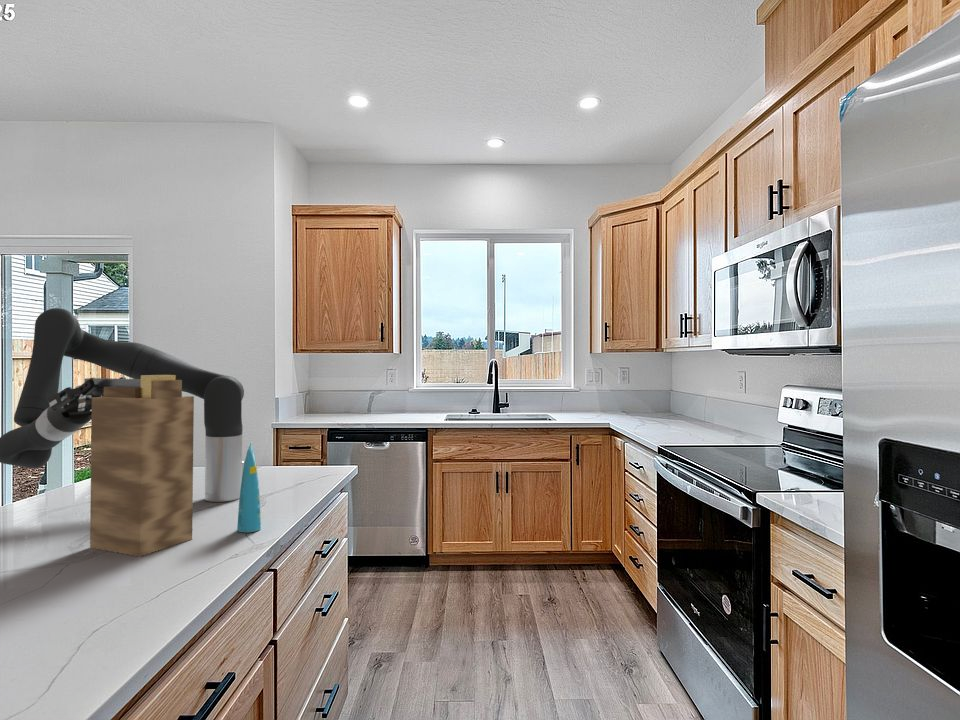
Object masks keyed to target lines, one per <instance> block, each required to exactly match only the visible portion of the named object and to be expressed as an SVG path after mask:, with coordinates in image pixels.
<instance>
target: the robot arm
mask: <svg viewBox="0 0 960 720" xmlns="http://www.w3.org/2000/svg"><path fill="white" fill-rule="evenodd" d="M34 323H35V324H34V331H33V332H34V333H33V346H32V352H31V356H30V361H29V367H28V368H27V369H28V370H27V374H26V378H25V380H24V383H23V387H22V390H21V393H20V397H19V400H18V403H17V406H16V409H15V412H14V416H13V422H14V423H15V424H16V425H18V426H19V427H17V428H13V429H11V430H9V431H7V432H6V433H4V434H2V435H1V436H0V463H1V464H3V465H4V464H5V465H11V466H15V467H21V468H26V469H35V470H36V469H40V468H42V467H43V466H45V465H46V464H47V463H48V462H49V460H50V458H51V457H52V453H53V452H52V451H53V448H54V447H56V446H57V445H59V444H60V443H61V442H63V441H64V440H65V439H67V438H69V437H71V436H72V435H74V434H75V433H76V432H78V431H80V430H81V428H83V426H85V425H87V424H88V423H89V422H91V421H92V397H104V396H95V395H88V394H90V393H91V392H92V391H93V390H95V389H96V388H97V387H98V383H97V380H96V378H97V377H90V379H89V380H88V381H86V382H85V383H84V382H83V383H82V384H79V385H76V386H75V387H74V388H72V387H70V386H69V387H65V388H64V389H62V390H61V391H59V389H60V387H59V385H60V378H61V370H62V364H63V358H64V357H68V358H72V359H76V360H78V361H79V360H80V361H84V362H87V363H90V364H94V365H96V366H98V367H101V368H104V369H107V370H109V371H112V372H114V373H118V374H120V375H123V376H120V377H119V378H118V379H127V378H126V377H128V378H129V379H141V375H176V380H182V392H184V393H187V394H191V395H193V396H194V397H198V398H200V399H202V400H203V423H204V430H205V437H204V438H205V441H204V442H205V443H204V444H205V446H204V447H205V448H204V449H205V450H204V451H205V452H204V453H205V454H204V457H205V458H204V459H205V460H204V501H207V502H211V503H212V502H215V503H216V502H217V503H218V502H219V503H220V502H223V503H224V502H231V501H235V500H239V499H240V489H241V481H242V475H243V469H244V463H245V460H243V428H244V427H243V421H242V419H243V418H242V417H243V416H242V404H243V403H242V401H243V399H244V395H245V389H244V386H243V384H242V383H241V381H239V379H238V378H235V377H233V376H229V375H225V374H220V373H218V372H217V373H216V372H213V371H209V370H206V369H203V368H201V367H198V366H194V365H193V364H190V363H189V362H186V361H185V360H183V359H180V358H178V357H176V356H174V355H171V354H169V353H166V352H164V351H161V350H159V349H156V348H154V347H151V346H148V345H146V344H142V343H140V342H131V341H116V340H109V339H105V338H103V337H101V336H97V335H95V334H92V333H91V332H89V331H86V330H84V329H82V328H81V326H80V323H79V320H78V318H77V317H76V316H75V315H74V313H72V312H71V311H70V310H66V309H64V308H59V307H55V308H54V307H53V308H49V309H46V310H44V311H42V312H41V313H40V314H39V315H38V316H37V318H36V319H35V322H34Z"/></svg>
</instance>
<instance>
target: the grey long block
mask: <svg viewBox="0 0 960 720" xmlns="http://www.w3.org/2000/svg"><path fill="white" fill-rule="evenodd" d="M90 378H91V377H90ZM90 378H87V377H86V378H84V382H83V383H85V382H86V381H88V380H89V379H90ZM95 378H96V380H97V383H98V387H97V388H96V389H95V390H93V391H92V392H91V393H90V394H88V395H95V396H101V397H103V396H104V387H132V388H141V398H152V381H162V380H176V375H141V379H133V378H126V379H119V378H112V377H111V378H106V377H105V378H104V377H103V378H102V377H95Z"/></svg>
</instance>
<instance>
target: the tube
mask: <svg viewBox="0 0 960 720" xmlns="http://www.w3.org/2000/svg"><path fill="white" fill-rule="evenodd" d="M247 448H248V449H247V450H246V451H247V452H246V456H245V459H244V462H245V463H244V469H243V475H242V481H241V489H240V498H239V499H238V500H239V501H238V511H237V525H236V526H237V527H236V528H237V529H236V530H237V531H238V533H254V532H259V530H261V529H262V527H261V525H262V521H261V519H262V517H261V501H260V500H261V497H260V486H259V485H260V484H259V476H258V475H259V474H258V470H257V469H258V468H257V463H256V458H255V452H254V447H253V442H252V441H250V444H249V446H248V447H247Z"/></svg>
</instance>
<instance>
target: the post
mask: <svg viewBox="0 0 960 720" xmlns="http://www.w3.org/2000/svg"><path fill="white" fill-rule="evenodd" d="M194 404H195V395H193V396H192V395H191V396H189V395H183V391H182V380H162V381H152V398H141V388H132V387H104V397H103V396H101V397H92V419H91V420H90V423H91V425H90V427H91V430H90V431H91V435H90V436H91V440H90V444H91V445H90V510H89V512H90V518H89V519H90V521H89V524H90V525H89V532H90V533H89V548H91V549H95V548H96V550H100V549H101V550H102V551H106V550H108V551H107V552H111V551H113V552H112V553H117V552H119V553H118V554H122V553H124V554H123V555H127V554H129V555H128V556H133V555H134V557H138V556H141V557H143V555H144V556H147V555H149V554H148V553H150V554H152V553H151V552H153V553H155V551H156V552H158V550H159V551H162V550H165V549H167V547H168V548H171V547H173V546H176V544H177V545H178V544H182V543H185V542H188V541H191V540H193V513H194V512H193V509H194V508H193V507H194V506H193V504H194V503H193V501H194V500H193V498H194V497H193V495H194V493H193V491H194V420H195V419H194V418H195V417H194V415H195V414H194V413H195V412H194V409H195V406H194ZM170 546H171V547H170ZM164 548H165V549H164ZM161 549H162V550H161ZM146 554H147V555H146Z"/></svg>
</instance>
